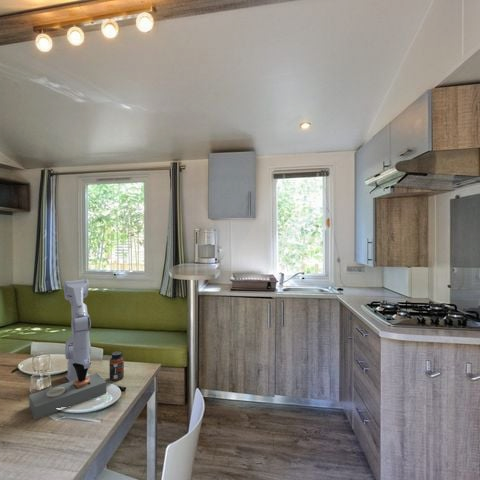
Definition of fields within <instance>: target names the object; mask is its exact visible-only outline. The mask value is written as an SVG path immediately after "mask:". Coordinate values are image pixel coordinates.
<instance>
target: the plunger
mask: <svg viewBox="0 0 480 480" xmlns="http://www.w3.org/2000/svg"><path fill="white" fill-rule="evenodd" d="M64 392H65V388H64V387H57V388H53V389H51V390H49V391H48V392H47V393H46V394H47V397H49V398H51V397H55V396H59V395H61V394H63V393H64Z"/></svg>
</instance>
